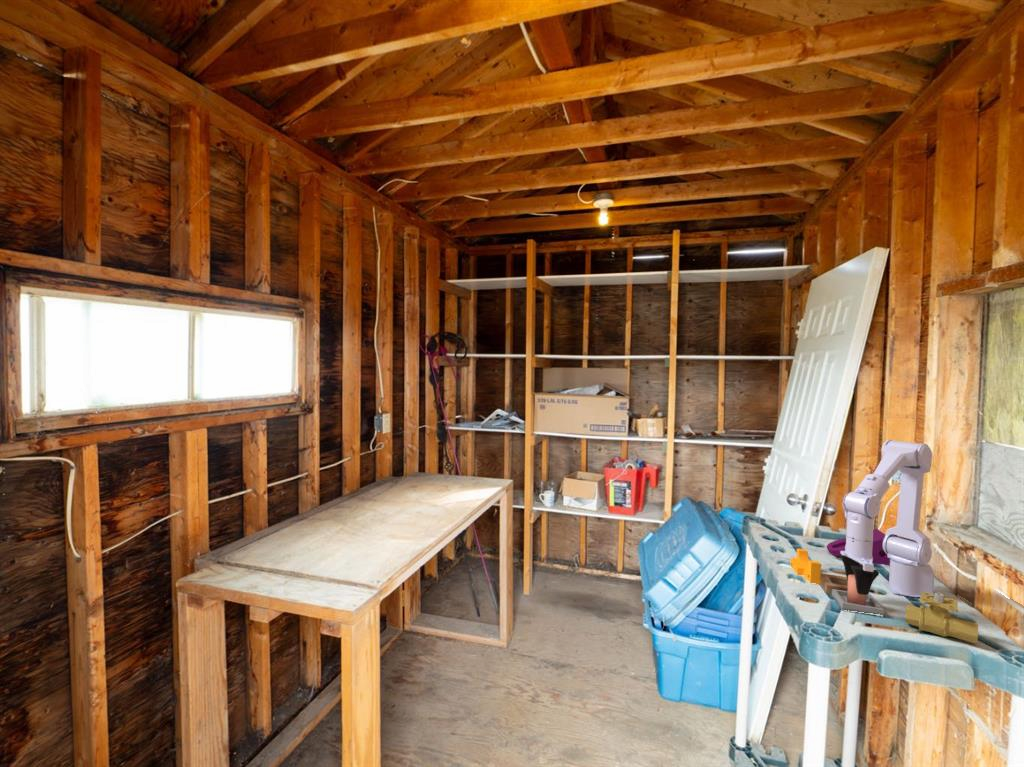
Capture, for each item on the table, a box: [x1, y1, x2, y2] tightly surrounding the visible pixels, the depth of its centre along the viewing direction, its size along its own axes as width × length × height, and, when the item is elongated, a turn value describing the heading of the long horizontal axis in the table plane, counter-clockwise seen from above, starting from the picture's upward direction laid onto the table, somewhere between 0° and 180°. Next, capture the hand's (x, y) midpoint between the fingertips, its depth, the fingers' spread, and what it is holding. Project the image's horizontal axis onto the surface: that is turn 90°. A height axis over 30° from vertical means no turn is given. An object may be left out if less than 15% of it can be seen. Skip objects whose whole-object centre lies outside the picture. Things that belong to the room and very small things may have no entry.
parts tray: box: [831, 589, 885, 616], centre depth 124 cm, size 9×9×2 cm
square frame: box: [819, 572, 848, 595], centre depth 134 cm, size 9×9×2 cm
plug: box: [847, 575, 866, 606], centre depth 124 cm, size 4×4×7 cm
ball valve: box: [905, 592, 979, 645], centre depth 112 cm, size 13×10×10 cm
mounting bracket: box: [826, 528, 890, 566], centre depth 161 cm, size 9×8×18 cm
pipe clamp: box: [789, 548, 822, 586], centre depth 144 cm, size 12×4×6 cm, turn 166°
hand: (857, 587), depth 124 cm, fingers open, 7 cm apart
